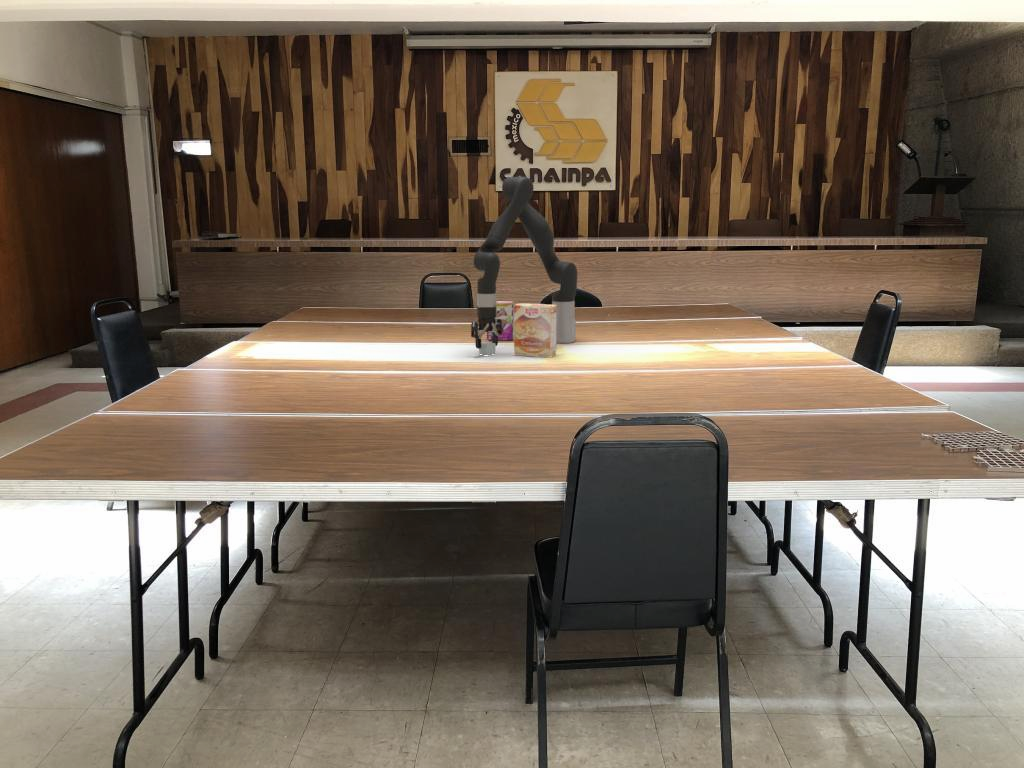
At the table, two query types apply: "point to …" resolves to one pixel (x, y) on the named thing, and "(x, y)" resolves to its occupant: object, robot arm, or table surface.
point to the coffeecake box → (535, 329)
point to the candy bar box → (505, 320)
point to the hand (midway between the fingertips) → (486, 347)
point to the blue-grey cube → (487, 348)
